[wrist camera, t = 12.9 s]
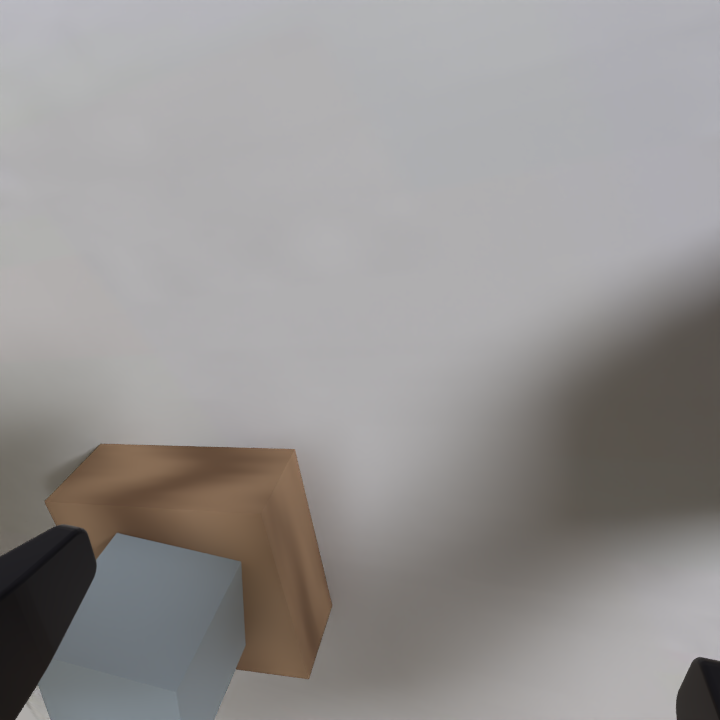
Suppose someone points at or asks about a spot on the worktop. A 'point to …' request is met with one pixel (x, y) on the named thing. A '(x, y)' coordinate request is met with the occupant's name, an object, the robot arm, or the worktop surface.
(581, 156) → the worktop surface
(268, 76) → the worktop surface
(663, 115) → the worktop surface
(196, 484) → the walnut block
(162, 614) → the slate cube
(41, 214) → the worktop surface
